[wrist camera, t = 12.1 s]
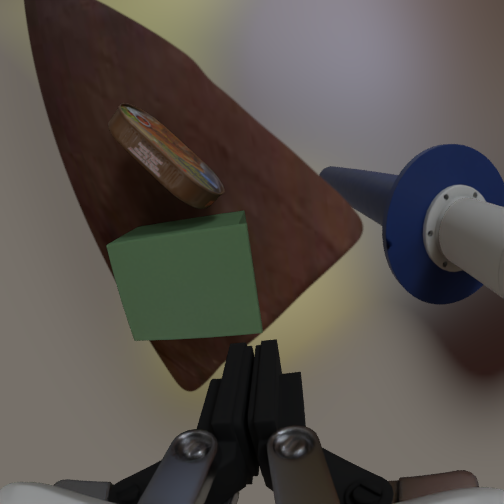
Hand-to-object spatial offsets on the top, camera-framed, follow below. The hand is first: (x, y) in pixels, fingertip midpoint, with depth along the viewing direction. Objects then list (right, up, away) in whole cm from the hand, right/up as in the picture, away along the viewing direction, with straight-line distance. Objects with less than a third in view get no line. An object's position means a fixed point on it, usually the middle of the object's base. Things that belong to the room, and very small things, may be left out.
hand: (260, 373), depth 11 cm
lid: (-7, +1, +20) cm, 21 cm away
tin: (-9, +16, +24) cm, 30 cm away
